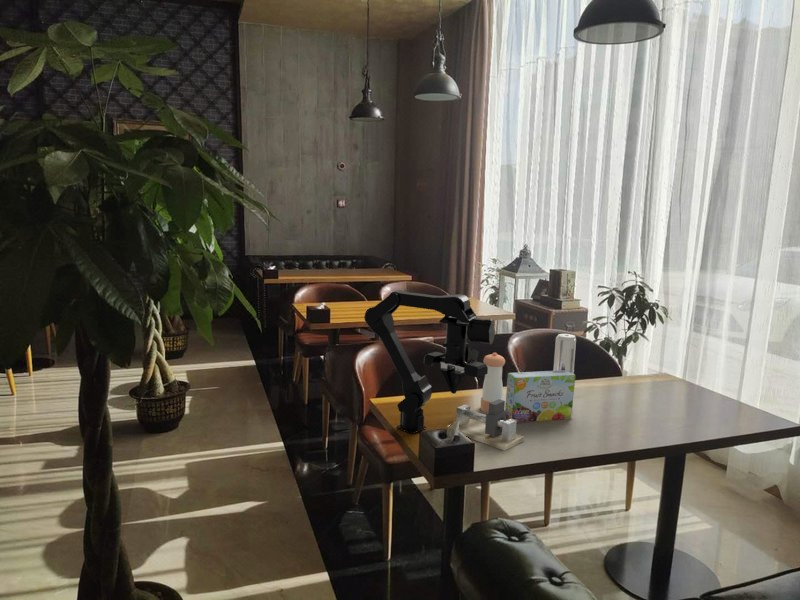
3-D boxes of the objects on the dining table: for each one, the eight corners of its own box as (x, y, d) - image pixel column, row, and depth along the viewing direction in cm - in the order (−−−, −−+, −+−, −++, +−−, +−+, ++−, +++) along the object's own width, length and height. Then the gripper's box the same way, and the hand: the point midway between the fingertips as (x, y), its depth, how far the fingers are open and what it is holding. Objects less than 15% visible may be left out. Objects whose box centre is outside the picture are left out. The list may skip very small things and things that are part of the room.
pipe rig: (456, 424, 168) (456, 407, 168) (464, 421, 171) (464, 404, 170) (507, 442, 156) (508, 424, 155) (515, 438, 159) (516, 420, 158)
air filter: (568, 404, 193) (574, 333, 189) (572, 411, 186) (578, 337, 182) (549, 403, 193) (554, 332, 189) (552, 410, 187) (558, 336, 183)
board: (447, 429, 167) (447, 425, 167) (467, 421, 174) (467, 417, 174) (504, 450, 154) (505, 446, 153) (523, 440, 161) (524, 436, 161)
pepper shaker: (496, 414, 181) (499, 356, 178) (476, 409, 185) (479, 352, 182) (506, 409, 187) (510, 352, 184) (487, 404, 191) (490, 349, 188)
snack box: (512, 424, 173) (515, 377, 171) (503, 418, 178) (506, 372, 176) (572, 419, 179) (576, 373, 177) (562, 413, 184) (566, 368, 182)
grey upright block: (484, 433, 160) (486, 403, 159) (496, 427, 164) (498, 398, 163) (493, 436, 158) (495, 405, 157) (505, 430, 162) (507, 400, 161)
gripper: (500, 341, 157) (497, 395, 160) (447, 330, 170) (445, 380, 172) (477, 347, 149) (474, 403, 152) (423, 335, 162) (421, 387, 164)
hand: (453, 393), depth 160 cm, fingers closed
